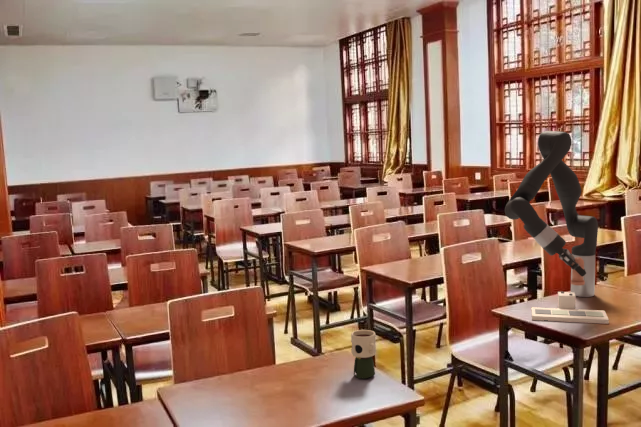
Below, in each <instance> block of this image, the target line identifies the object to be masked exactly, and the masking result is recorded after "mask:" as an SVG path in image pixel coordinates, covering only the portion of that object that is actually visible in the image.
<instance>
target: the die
mask: <svg viewBox="0 0 641 427" xmlns="http://www.w3.org/2000/svg"><path fill="white" fill-rule="evenodd" d="M576 297H577V296H575V293H574V292H571V291H570V292H568V291H557V308H559V309H576V303H577V302H576V300H577V299H576Z"/></svg>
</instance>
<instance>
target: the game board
mask: <svg viewBox="0 0 641 427" xmlns="http://www.w3.org/2000/svg"><path fill="white" fill-rule="evenodd" d="M530 310H531V320H532V321H544V320H548V322H565V323H566V322H568V323H585V324H588V323H589V324H605V325H608V324H609V322H610V321H609V320H610V319H609V317H608V315H607V313H606V311H605V310H602V309H601V310H597V309H582V308H581V309H579V308H578V309H577V308H575V309H559V308H558V307H556V308H555V307H538V306H537V307H536V306H533V307H531V309H530Z"/></svg>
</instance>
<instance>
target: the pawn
mask: <svg viewBox="0 0 641 427" xmlns="http://www.w3.org/2000/svg"><path fill="white" fill-rule="evenodd" d="M575 261H576V262H577V263H578V264H579V266H580V267H581V268H582V269H583V270H584V260H583V259H582V258H580V257H576V258H575ZM574 264H575V263H572V266H573V265H574ZM571 284H572V285H585V281H584V276H583V277H582V276H581V275H580V274H579V273H577V272H576V271H575V270H573V269H572V280H571V279H570V285H571Z"/></svg>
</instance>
